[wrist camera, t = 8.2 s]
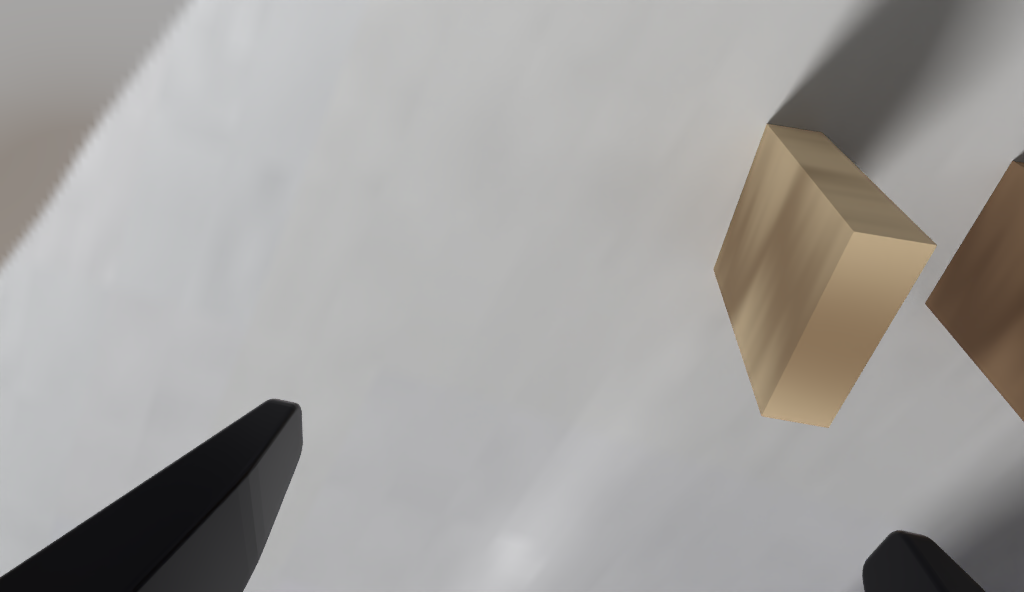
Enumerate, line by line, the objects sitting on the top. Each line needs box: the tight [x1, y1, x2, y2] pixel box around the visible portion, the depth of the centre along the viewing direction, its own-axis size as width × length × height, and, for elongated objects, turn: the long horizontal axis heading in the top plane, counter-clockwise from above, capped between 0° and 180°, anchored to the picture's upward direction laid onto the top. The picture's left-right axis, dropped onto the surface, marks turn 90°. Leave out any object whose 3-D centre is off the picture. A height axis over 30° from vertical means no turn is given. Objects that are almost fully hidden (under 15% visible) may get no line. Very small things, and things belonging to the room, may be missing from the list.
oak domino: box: [714, 124, 937, 428], centre depth 16 cm, size 5×2×7 cm, turn 173°
